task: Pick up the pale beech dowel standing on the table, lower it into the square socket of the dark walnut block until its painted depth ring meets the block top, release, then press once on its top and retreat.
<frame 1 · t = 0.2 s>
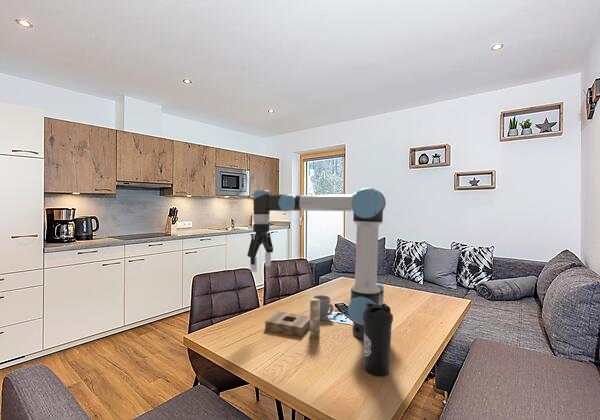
hand: (261, 268, 141), 28 cm above the table, fingers open, 13 cm apart
mug: (323, 317, 155), on the table
peg: (314, 336, 132), on the table
water bottle: (376, 370, 106), on the table
board: (289, 327, 141), on the table
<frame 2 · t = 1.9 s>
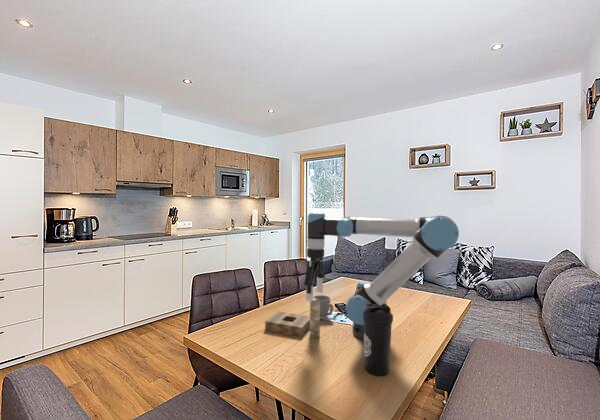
hand: (314, 296, 132), 18 cm above the table, fingers open, 13 cm apart
nothing on the table moved.
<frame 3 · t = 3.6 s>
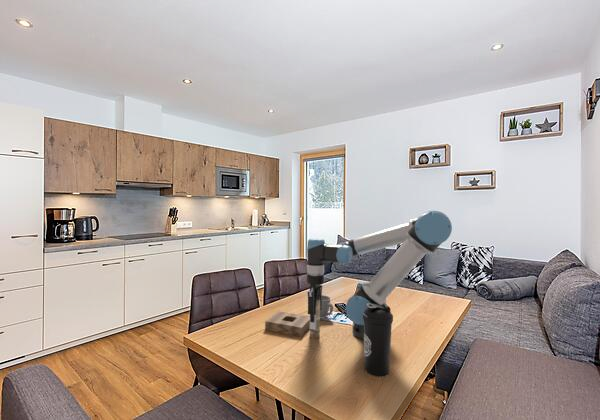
hand: (314, 326, 132), 4 cm above the table, fingers closed on peg, 4 cm apart
peg: (314, 336, 132), on the table, touching gripper
everything else where it was.
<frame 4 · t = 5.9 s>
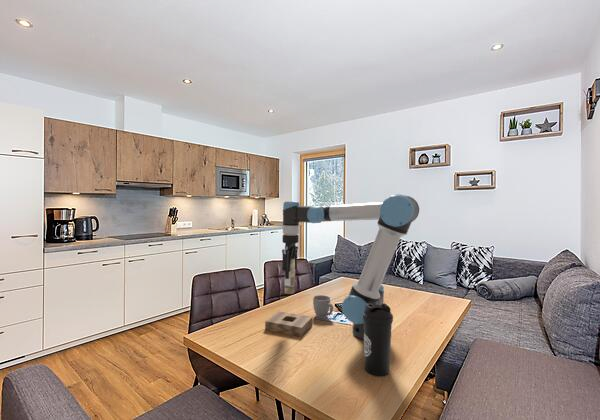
hand: (289, 283, 141), 21 cm above the table, fingers closed on peg, 4 cm apart
peg: (289, 292, 141), point 16 cm above the table, touching gripper
everything else where it was.
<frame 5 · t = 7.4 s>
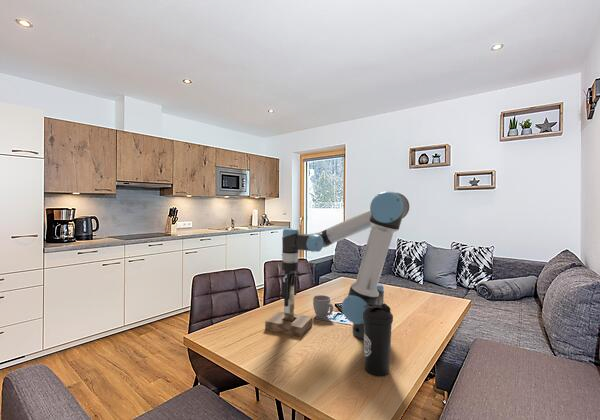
hand: (289, 310, 141), 8 cm above the table, fingers closed on peg, 4 cm apart
peg: (288, 319, 141), point 4 cm above the table, touching gripper
everything else where it was.
when the fingers open (6 cm above the table, at t = 8.0 s): peg stays where it is, resting on board.
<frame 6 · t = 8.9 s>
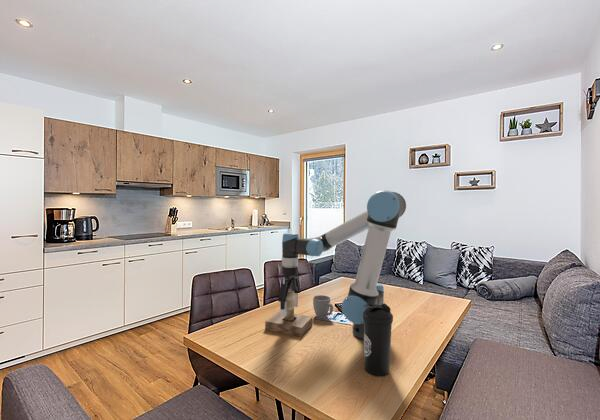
hand: (289, 311, 141), 8 cm above the table, fingers open, 13 cm apart
peg: (289, 325, 141), point 1 cm above the table, touching board
everything else where it was.
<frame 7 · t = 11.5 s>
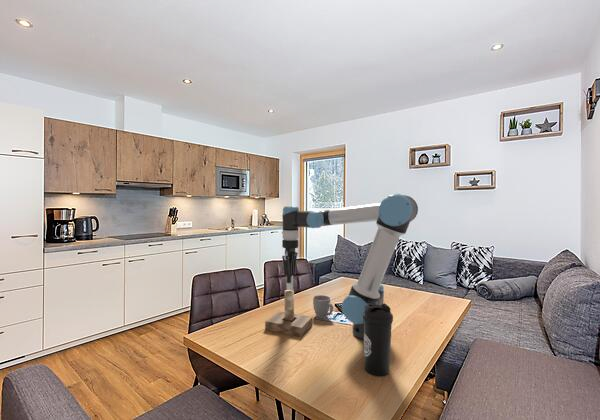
hand: (289, 289, 141), 18 cm above the table, fingers closed
nothing on the table moved.
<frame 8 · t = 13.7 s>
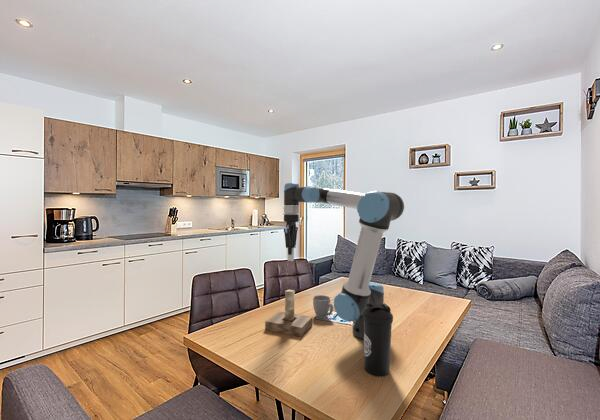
hand: (290, 260, 152), 29 cm above the table, fingers closed
nothing on the table moved.
at the end: peg 0.0 cm off-centre on the board, point 1.1 cm above the board's base; peg tilted 1°; the gripper is holding nothing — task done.
